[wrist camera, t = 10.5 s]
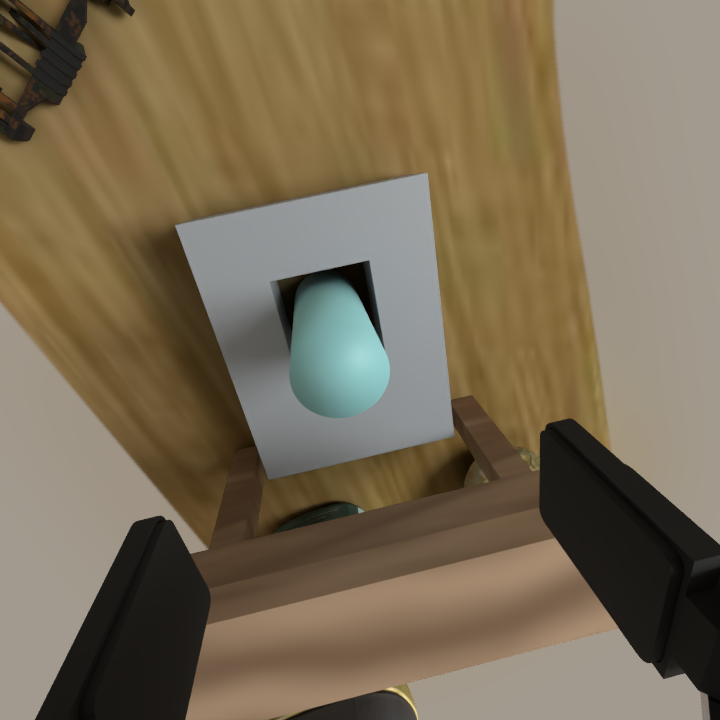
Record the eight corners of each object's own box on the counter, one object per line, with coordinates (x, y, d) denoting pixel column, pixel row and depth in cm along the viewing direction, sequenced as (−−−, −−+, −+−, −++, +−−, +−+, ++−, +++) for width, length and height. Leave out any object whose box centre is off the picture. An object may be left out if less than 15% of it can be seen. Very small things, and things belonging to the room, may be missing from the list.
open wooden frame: (216, 404, 30) (119, 646, 14) (468, 346, 31) (640, 516, 15) (244, 474, 33) (189, 740, 17) (473, 420, 34) (622, 626, 18)
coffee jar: (295, 578, 39) (289, 877, 22) (259, 525, 36) (220, 829, 19) (387, 544, 39) (451, 821, 22) (359, 487, 35) (410, 762, 19)
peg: (287, 277, 27) (277, 339, 16) (350, 263, 27) (381, 316, 16) (303, 335, 29) (303, 427, 18) (362, 323, 29) (396, 405, 18)
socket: (193, 219, 25) (175, 225, 21) (409, 174, 25) (427, 172, 22) (272, 447, 32) (268, 480, 29) (437, 408, 33) (454, 436, 29)
